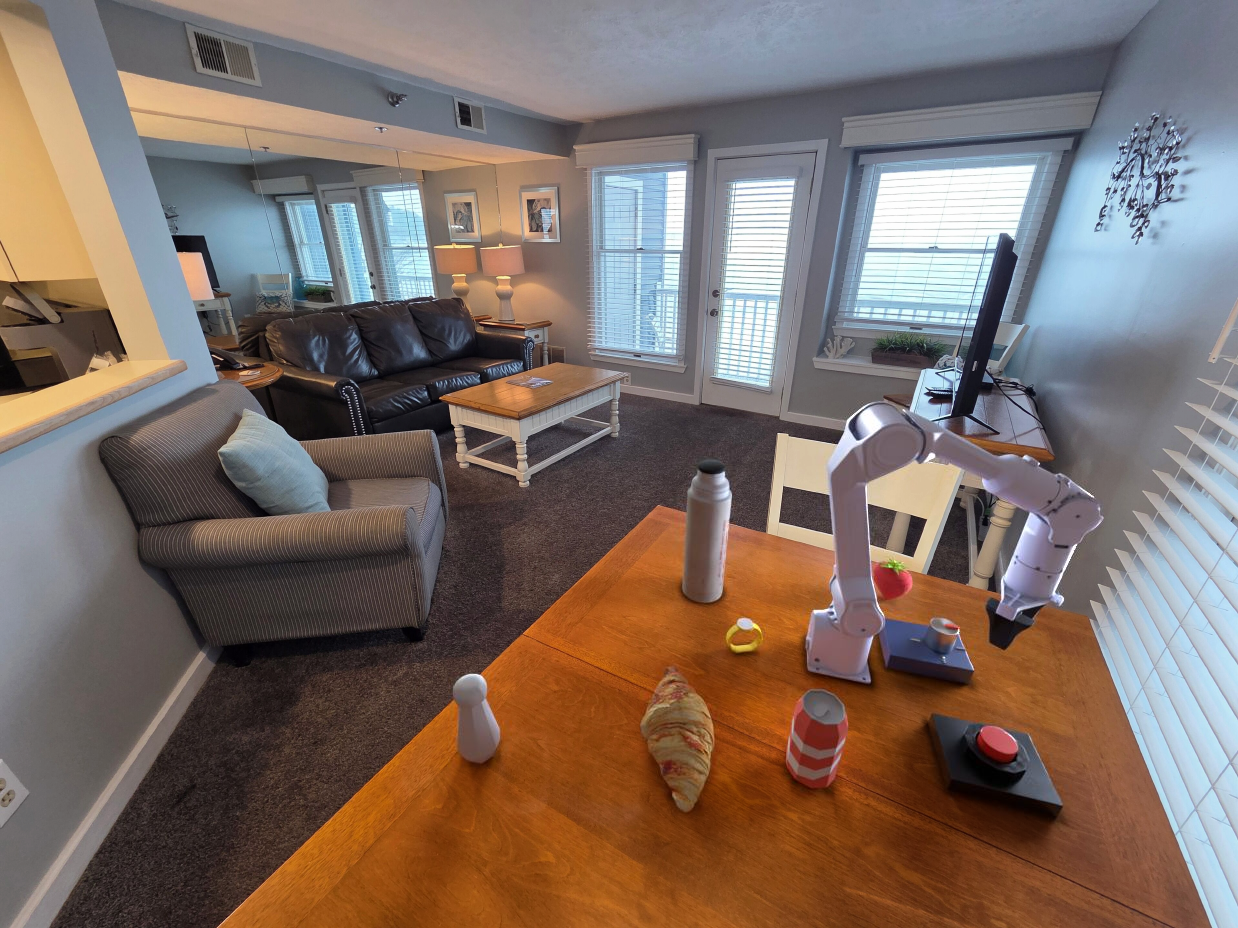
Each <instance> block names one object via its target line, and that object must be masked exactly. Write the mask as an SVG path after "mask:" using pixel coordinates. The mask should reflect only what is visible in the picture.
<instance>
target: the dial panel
mask: <svg viewBox="0 0 1238 928" xmlns="http://www.w3.org/2000/svg"><path fill="white" fill-rule="evenodd" d="M928 627H929V625H927V624H920V623H915V622H910V621H904V620H898V619H893V618H887V617H885V625H884V627H883V629H882V630H881V631H880V632H879V633H877V634H878V638H879V642H880V647H881V652H882V655H883V659H884V660H883V661H884V664H885V667H886V669H891V670H895V671H901V672H906V673H911V674H915V675H921V676H924V677H925V676H926V677H930V678H931V677H932V678H935V679H942V680H946V681H951V682H954V683H959V684H966V685H970V682H971V681H972V678H973V675H974V672H975V668H974V667H973V665H972V663H971V661H970V658H969V655H968V653H967V651H968V650H967V648H965V645H964V643H963V642H962V640H961V636H960V633H958V635H957V638H956V641H955V644H954V646H953V649H952V651H951V652H950V653H939V652H936V651H934V650H932V649H931V648H929V647H928V646H927V645H926V643H925V636H926V633H927V630H928Z"/></svg>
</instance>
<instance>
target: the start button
mask: <svg viewBox="0 0 1238 928" xmlns="http://www.w3.org/2000/svg"><path fill="white" fill-rule="evenodd" d="M996 727H997V726H996ZM996 727H992V726H986V727H984V728H982V729H981V732H980V734H979V736H978V739H977V743H978V746H979V748H980V749H981V750H982V751H983V752H984V753H985V754H986V755H987V756H989V757H991V758H992V759H994V760H996V761H998V762H1002V763H1008V762H1011V761H1012V760H1013V759H1014V757H1015V755H1016V753H1017V751H1018V746H1017V743H1016V741H1015V740H1014V739H1013V738H1012V737H1011V736H1010V735H1009V734H1008V733H1006V732H1005V731H1003V730H1001V729H999V728H1000V727H998V728H996Z"/></svg>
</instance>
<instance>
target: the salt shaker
mask: <svg viewBox="0 0 1238 928" xmlns="http://www.w3.org/2000/svg"><path fill="white" fill-rule="evenodd" d="M487 695H488V684H487V681H486V679H485V678H484V677H483V675H480V674H478V673H469V674H466V675H463V676H461V677H460V678H459V679H458V680H456V682H455V683H454V685H453V687H452V699H453V701H454V703H455V705H456V706H457V707H458V718H457V738H456V748H457V750H458V752H459V754H460V755H461V757H462V758H463V759H465V760H466V761H468V762H470V763H475V764H480V765H481V764H483V763H485V762H486V761H488V760H490V758H493V756H494V755H495V752H496V750H497V748H498V745H499V743H500V741H501V730H500V729H501V728H500V727H499V725H498V723H497V720H496V718H495V715H494V713H493V710H492V709H491V707H490V705H489V703H488V702H489V701H488V699H487V698H486V697H487Z"/></svg>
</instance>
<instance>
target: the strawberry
mask: <svg viewBox="0 0 1238 928" xmlns="http://www.w3.org/2000/svg"><path fill="white" fill-rule="evenodd" d="M892 558H893V560H892V559H891V558H889V557H888V556H887V557H886V560H883V561H879V562H877V563H876V564H875V565H874V567H873V569H872V576H873V577H872V578H873V582H874V583H875V586H876V588H877V589H878V591H879V592H880V594H881V596H882V598H883V599H884V600H886V601H890V600H894V599H898V598H900V597H902V596H905V595H907V594H908V592H910V590H911V589H912V588H913V578H912V575H911V574H910V573H909V571H908V569H910V568H909V567H908V566H904V565H902V564H903V563H904V561H897V560H895V557H894V556H892Z"/></svg>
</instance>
